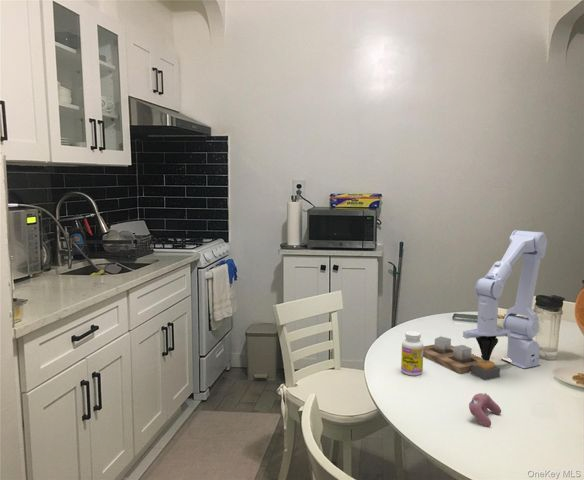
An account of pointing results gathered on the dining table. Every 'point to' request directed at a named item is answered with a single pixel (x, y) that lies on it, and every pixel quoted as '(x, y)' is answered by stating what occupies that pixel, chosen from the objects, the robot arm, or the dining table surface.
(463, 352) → the block
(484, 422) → the video game controller
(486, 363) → the button
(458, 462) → the dining table surface
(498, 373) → the button housing
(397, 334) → the dining table surface
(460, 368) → the brown board with cutouts
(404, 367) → the supplement bottle
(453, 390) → the dining table surface
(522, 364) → the robot arm
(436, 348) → the steel billet
